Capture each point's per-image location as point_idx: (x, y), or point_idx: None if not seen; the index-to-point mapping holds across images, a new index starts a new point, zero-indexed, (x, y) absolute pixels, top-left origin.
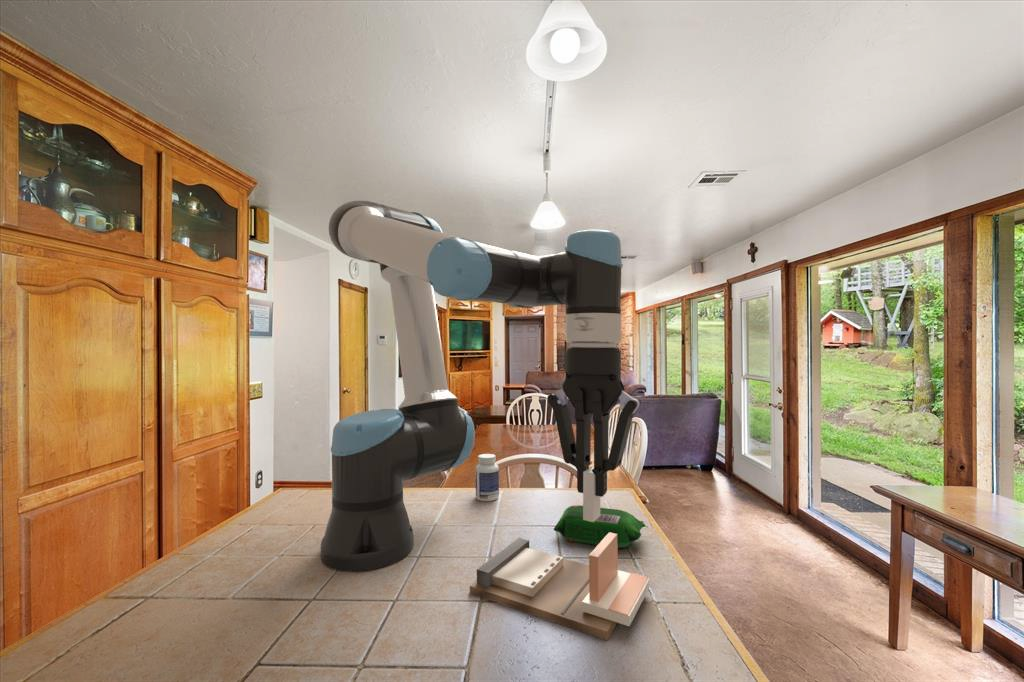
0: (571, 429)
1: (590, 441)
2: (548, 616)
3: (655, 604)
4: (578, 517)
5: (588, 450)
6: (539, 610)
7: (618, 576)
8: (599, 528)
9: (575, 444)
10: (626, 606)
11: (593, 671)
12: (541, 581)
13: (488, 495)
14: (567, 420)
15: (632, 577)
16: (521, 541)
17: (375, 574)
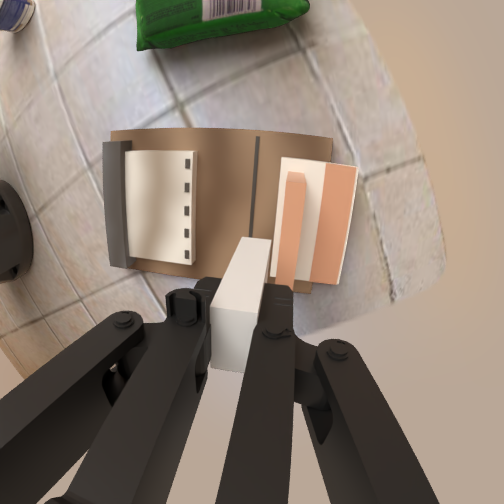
0: (52, 420)
1: (173, 400)
2: None
3: (362, 186)
4: (172, 26)
5: (189, 388)
6: None
7: (307, 183)
8: (224, 26)
9: (105, 365)
10: (332, 267)
11: (304, 333)
12: (192, 236)
13: (20, 22)
14: (30, 465)
15: (331, 178)
16: (111, 152)
17: (38, 267)
